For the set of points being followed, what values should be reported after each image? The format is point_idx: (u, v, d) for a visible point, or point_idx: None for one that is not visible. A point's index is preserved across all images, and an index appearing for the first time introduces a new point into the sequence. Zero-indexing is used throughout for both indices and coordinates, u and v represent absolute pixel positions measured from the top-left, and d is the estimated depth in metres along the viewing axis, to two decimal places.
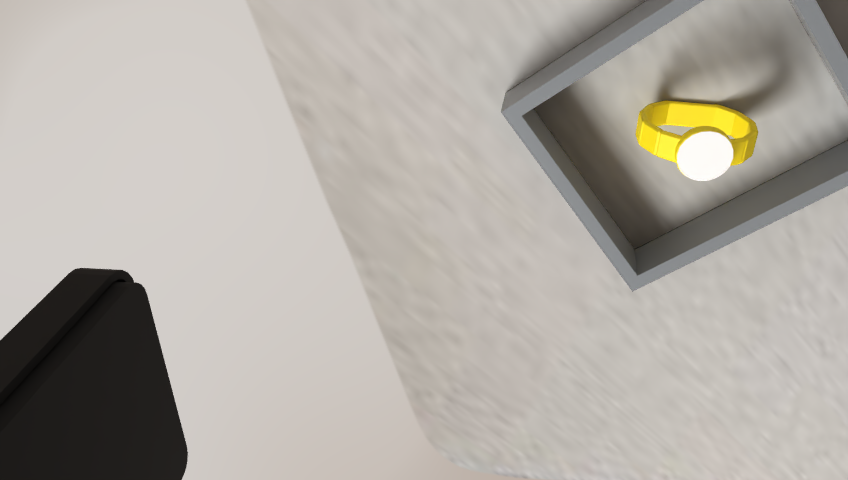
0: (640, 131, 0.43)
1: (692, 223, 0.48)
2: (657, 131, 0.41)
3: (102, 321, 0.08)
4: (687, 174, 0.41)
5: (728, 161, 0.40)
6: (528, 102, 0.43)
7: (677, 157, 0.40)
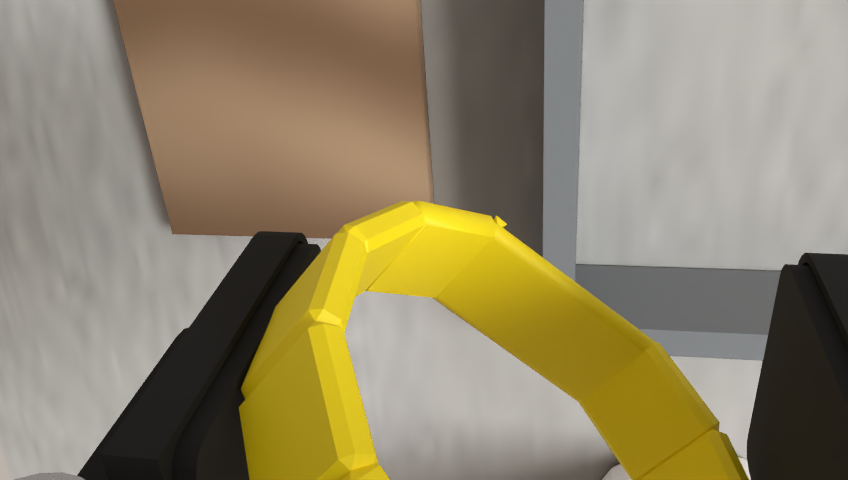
0: None
1: None
2: None
3: (296, 277, 0.09)
4: None
5: None
6: None
7: None
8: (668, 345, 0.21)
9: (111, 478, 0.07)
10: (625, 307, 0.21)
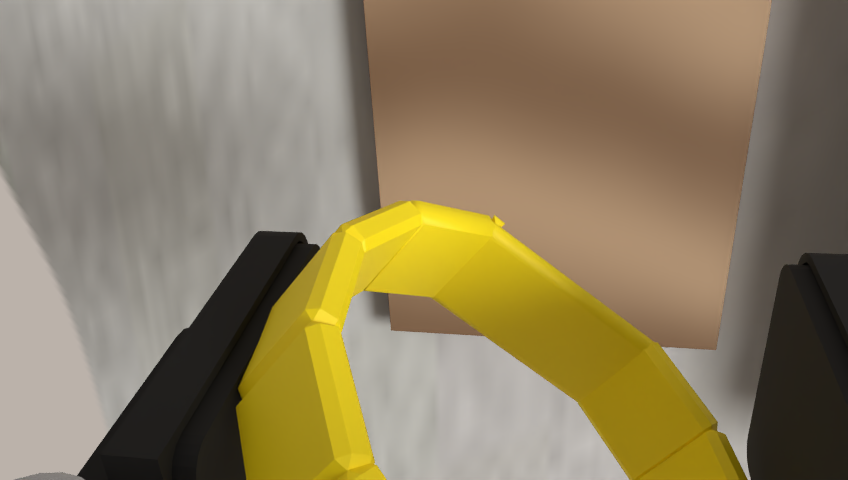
0: None
1: None
2: None
3: None
4: None
5: None
6: None
7: None
8: None
9: (111, 478, 0.07)
10: None
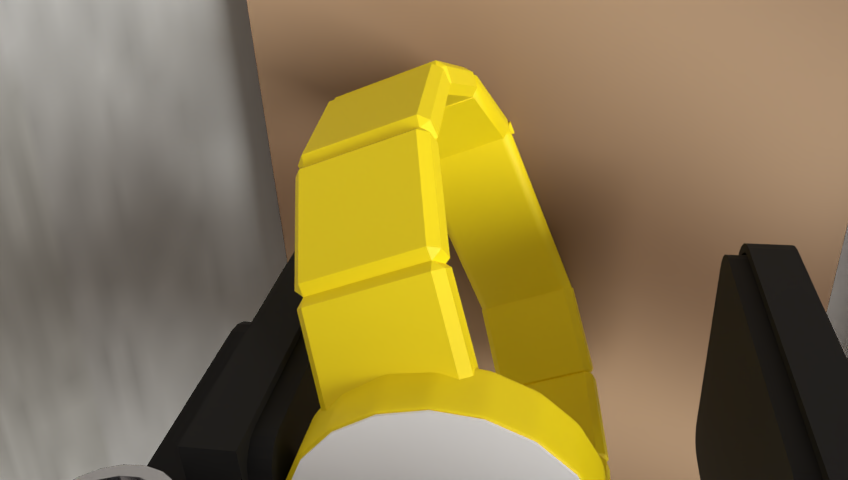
0: None
1: None
2: None
3: None
4: None
5: (407, 419, 0.06)
6: None
7: None
8: None
9: (187, 470, 0.07)
10: None
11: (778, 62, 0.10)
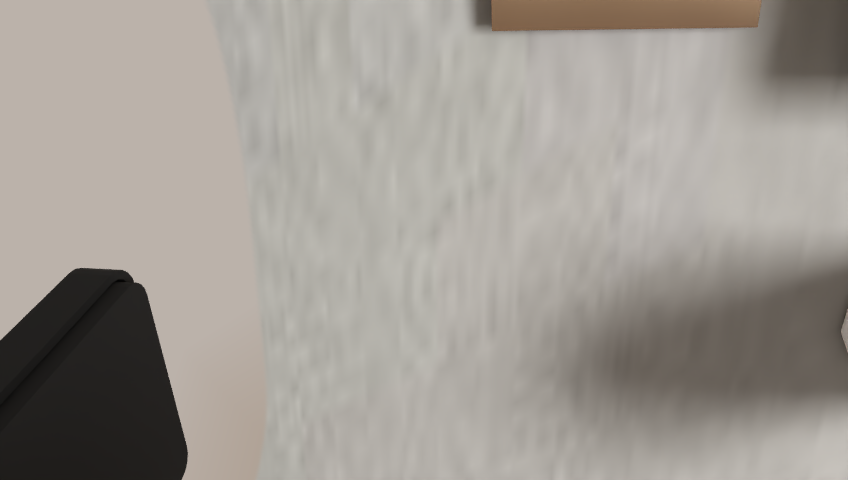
0: None
1: None
2: None
3: (102, 321, 0.08)
4: None
5: None
6: None
7: None
8: None
9: None
10: None
11: None
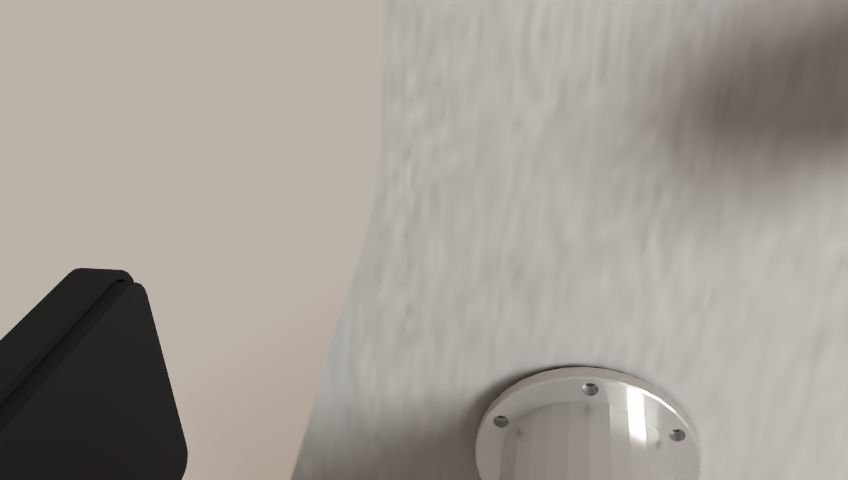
0: None
1: None
2: None
3: (102, 321, 0.08)
4: None
5: None
6: None
7: None
8: None
9: None
10: None
11: None
